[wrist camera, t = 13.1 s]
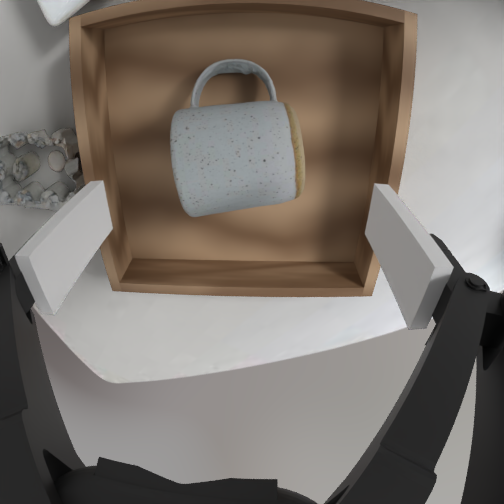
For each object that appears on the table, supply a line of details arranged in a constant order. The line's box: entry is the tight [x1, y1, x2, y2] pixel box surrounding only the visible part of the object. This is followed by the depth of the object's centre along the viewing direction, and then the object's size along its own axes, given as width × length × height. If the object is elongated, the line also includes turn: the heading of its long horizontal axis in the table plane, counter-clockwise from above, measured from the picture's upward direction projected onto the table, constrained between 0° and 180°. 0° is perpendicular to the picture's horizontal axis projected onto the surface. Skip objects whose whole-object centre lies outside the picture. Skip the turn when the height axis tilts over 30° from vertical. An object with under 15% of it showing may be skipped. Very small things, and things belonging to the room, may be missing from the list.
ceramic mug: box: [170, 59, 305, 217], centre depth 20 cm, size 11×8×8 cm
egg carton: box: [0, 128, 85, 211], centre depth 24 cm, size 11×8×4 cm
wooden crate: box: [69, 0, 417, 297], centre depth 23 cm, size 24×24×5 cm
